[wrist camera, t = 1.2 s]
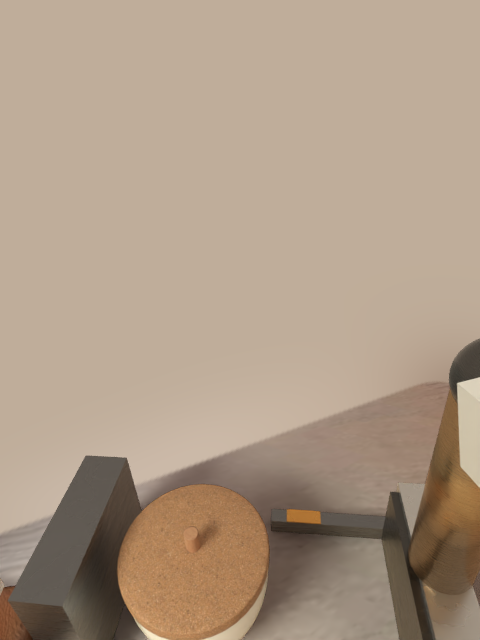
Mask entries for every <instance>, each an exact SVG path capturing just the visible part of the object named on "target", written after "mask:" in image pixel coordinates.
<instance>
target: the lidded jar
mask: <svg viewBox="0 0 480 640" xmlns="http://www.w3.org/2000/svg"><path fill="white" fill-rule="evenodd" d="M269 555H270V549H269V540H268V534H267V531H266V527H265V525H264V522H263V520H262V518H261V516H260V515H259V513H258V512H257V510H256V509H255V508H254V506H253V505H252V504H251V503H250V502H249V501H248V500H246V499H245V498H244V497H242V496H241V495H240V494H238V493H236V492H234V491H232V490H230V489H227V488H224V487H221V486H216V485H209V484H197V485H189V486H184V487H180V488H177V489H175V490H172V491H170V492H168V493H166V494H164V495H162V496H160V497H159V498H157V499H156V500H154V501H153V502H152V503H150V504H149V505H148V506H147V507H146V508H144V509H143V511H142V512H141V513H140V514H139V515H138V516H137V517H136V519H135V520H134V521H133V523H132V524H131V526H130V527H129V529H128V531H127V533H126V535H125V537H124V539H123V542H122V545H121V547H120V551H119V556H118V563H117V576H118V584H119V588H120V591H121V594H122V597H123V600H124V602H125V604H126V606H127V608H128V610H129V611H130V613H131V614H132V616H133V617H134V619H135V621H136V623H137V625H138V627H139V628H140V629H141V630H142V632H143V633H144V634H145V635H146V637H147V638H148V639H149V640H241V639H242V638H243V637H244V636H245V634H246V633H247V632H248V630H249V629H250V628H251V627H252V625H253V623H254V621H255V619H256V618H257V616H258V614H259V611H260V609H261V606H262V603H263V601H264V597H265V592H266V587H267V582H268V568H269Z"/></svg>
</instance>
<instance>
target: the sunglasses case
mask: <svg viewBox="0 0 480 640" xmlns="http://www.w3.org/2000/svg"><path fill="white" fill-rule="evenodd" d="M14 588H15V586H12V587H4V588H3V590H2V592H1V595H0V640H33V638H32V637H31V635H30V634H29V632H28V631H27V629H26V628H25V626H24V625H23V623H22V622H21V620H20V619H19V617H18V616H17V614H16V613H15V611H14V610H13V608H12V607H11V605H10V604H9V602H8V599H9V597H10V595H11V593H12V592H13V590H14Z"/></svg>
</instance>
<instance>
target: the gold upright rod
mask: <svg viewBox="0 0 480 640" xmlns="http://www.w3.org/2000/svg"><path fill="white" fill-rule="evenodd" d="M479 377H480V339H478V340H475V341H473V342H472V343H470V344H468V345H467V346H465V347H464V348H463V349H462V350H461V351H460V352H459V353H458V355H457V356H456V358H455V359H454V361H453V363H452V366H451V369H450V374H449V385H450V390H449V394H448V398H447V402H446V406H445V410H444V414H443V417H442V421H441V425H440V429H439V433H438V437H437V441H436V444H435V448H434V452H433V456H432V460H431V464H430V467H429V471H428V475H427V479H426V483H425V484H414V483H398V485H397V490H396V492H390V496H389V501H388V506H387V512H386V517H385V522H384V527H383V532H382V537H381V538H382V544H383V549H384V555H385V561H386V566H387V572H388V577H389V583H390V589H391V594H392V600H393V605H394V611H395V617H396V622H397V628H398V633H399V639H400V640H480V606H479V603H478V600H477V597H476V594H475V591H474V588H473V584H474V581H475V579H476V577H477V574H478V572H479V570H480V488H479V487H478V486H477V484H476V483H475V482H474V481H473V480H472V479H471V478H470V477H469V476H468V474H467V473H466V472H465V471H464V470H463V469H462V468H461V467H460V447H459V422H458V396H457V383H459V382H463V381H467V380H471V379H475V378H479Z"/></svg>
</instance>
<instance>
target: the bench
mask: <svg viewBox="0 0 480 640" xmlns="http://www.w3.org/2000/svg"><path fill="white" fill-rule="evenodd" d="M141 512H142V510H141V507H140V503H139V500H138V496H137V492H136V489H135V485H134V482H133V479H132V475H131V471H130V468H129V464H128V461H127V458H118V457H101V456H85V459H84V460H83V462H82V464H81V466H80V468H79V470H78V471H77V473H76V475H75V477H74V479H73V480H72V482H71V484H70V486H69V488H68V490H67V492H66V493H65V495H64V497H63V499H62V501H61V503H60V505H59V506H58V508H57V510H56V512H55V514H54V516H53V517H52V519H51V521H50V523H49V525H48V527H47V529H46V530H45V532H44V534H43V536H42V538H41V540H40V542H39V543H38V545H37V547H36V549H35V551H34V553H33V555H32V556H31V558H30V560H29V562H28V564H27V566H26V567H25V569H24V571H23V573H22V575H21V577H20V579H19V580H18V582H17V584H16V586H15V588H14V590H13V592H12V593H11V595H10V597H9V599H8V602H9V604H10V605H11V607H12V608H13V610H14V611H15V613H16V614H17V616H18V617H19V619H20V620H21V622H22V623H23V625H24V626H25V628H26V629H27V631H28V632H29V634H30V635H31V637H32V638H33V640H113V638H114V635H115V632H116V628H117V625H118V622H119V619H120V616H121V613H122V610H123V607H124V604H125V602H124V600H123V597H122V594H121V591H120V588H119V584H118V576H117V563H118V556H119V551H120V547H121V545H122V542H123V539H124V537H125V535H126V533H127V531H128V529H129V527H130V526H131V524H132V523H133V521H134V520H135V519H136V517H137V516H138V515H139V514H140V513H141ZM384 522H385V517H384V516H369V515H355V514H340V513H326V512H320V511H309V510H294V509H287V510H282V509H272V514H271V531H282V532H295V533H308V534H322V535H335V536H348V537H361V538H374V539H382V538H381V537H382V532H383V527H384Z"/></svg>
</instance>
